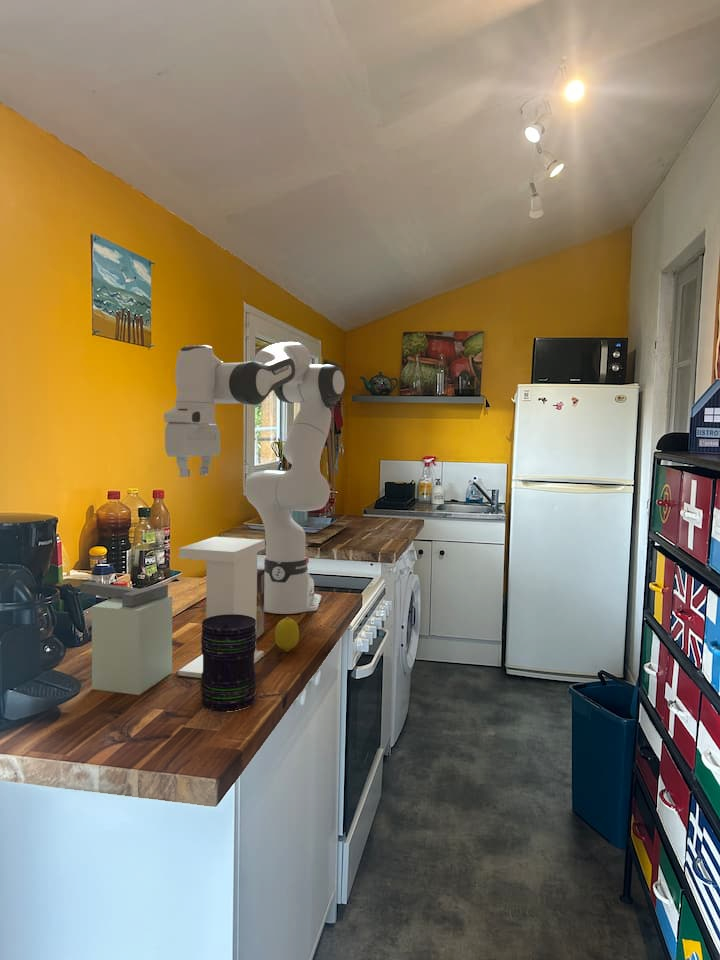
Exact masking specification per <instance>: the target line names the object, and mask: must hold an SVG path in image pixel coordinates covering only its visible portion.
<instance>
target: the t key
mask: <svg viewBox="0 0 720 960" xmlns="http://www.w3.org/2000/svg"><path fill="white" fill-rule="evenodd" d="M80 593H81V594H87V595H91V596H99V597H105V598H110V599H112V598H117V599H122V607H128V608H134V607H137V606H140V605H143V604H146V603H149V602H153V601H156V600H159V599H162V598H165V597H168V595H169V585H168V584H165V583H155V584H152V585H149V586H144V587H142V588H136V587H131V586H122V585H115V584H109V583H103V582H96V581H88V580H87V581H85V582H81V583H80Z"/></svg>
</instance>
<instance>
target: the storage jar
mask: <svg viewBox="0 0 720 960" xmlns="http://www.w3.org/2000/svg"><path fill="white" fill-rule="evenodd" d="M255 626H256V620H255V619H254V618H252V617H250V616H246V615H237V614H227V615H218V616H213V617H209V618H206V617H205V619H203V620H202V622H201V629H202V630H201V636H200V643H201V646H200V647H201V648H200V650H201V655H202V654H203V672H202V678H201V683H200V691H201V693H200V694H201V702H200V704H201V706H202V708H204V709H205V710H207V709H208V710H207V711H209V710H211V711H210V712H213V711H217V712H216V713H220V712H227V711H235V710H239V709H243V708H246V707H248V706H250V705H252V704H253V702H254V701H256V698H255V692H256V690H255V689H256V687H257V686H256V683H257V682H256V671H255V664H254V652H255V648H256V649H257V639H256V628H255ZM255 642H256V643H255ZM255 644H256V645H255ZM254 703H255V702H254ZM253 705H254V704H253ZM253 705H252V706H253ZM250 707H251V706H250Z"/></svg>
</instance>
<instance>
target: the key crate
mask: <svg viewBox="0 0 720 960" xmlns="http://www.w3.org/2000/svg"><path fill="white" fill-rule="evenodd" d="M172 673H173V595H169V594H168V597H165V598H162V599H159V600H156V601H153V602H149V603H146V604H143V605H140V606H137V607H134V608H128V607H122V599H117V598H110V599H106V600H103V601H102V602H99V603H97V604H94V605H92V606H91V690H97V691H103V692H112V693H120V694H128V695H133V696H134V695H136V696H140V695H142V694H143V693H144V692H146V691H147V690H149V689H151V688H152V687H153V686H155V685H157V683H159V682H160V681H162V680H164V679H165V678H166V677H168V676H169V675H171V674H172Z"/></svg>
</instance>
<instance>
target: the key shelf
mask: <svg viewBox="0 0 720 960" xmlns="http://www.w3.org/2000/svg"><path fill="white" fill-rule="evenodd" d="M264 550H266V539H259V538H257V539H256V538H243V537H241V538H240V537H229V536H228V537H227V536H226V537H224V536H212V537H210V538H206V539H203V540H199V541H198V542H194V543H190V544H187V545H184V546H182V547H179V548H178V559H185V560H187V559H188V560H197V561H198V560H199V561H206V569H205V570H206V575H205V576H206V577H205V578H206V579H205V580H206V581H205V582H206V583H205V585H206V587H205V590H206V591H205V592H206V594H205V595H206V596H205V597H206V598H205V600H206V601H205V605H206V606H205V619H206V618H209V617H213V616H218V615H227V614H237V615H246V616H250V617H252V618H254V619H255V620H256V613H257V569H258V553H259V552H261V551H264ZM255 628H256V626H255ZM255 643H256V644H255V645H256V646H257V641H256V642H255ZM264 656H265V653H264V650H257V647H256V648H255V652H254V665H255V664H256V663H257V662H259V660H260V659H261V657H262V658H263V657H264ZM202 672H203V654H202V653H201V654H200V655H199V656H198V657H196V658H195V659H194V660H191V661H190V662H189V663H187V664H186V665H185V666H183V667H182V668H180V669H179V670H178V672H177V673H178V676H180V677H181V676H182V677H190V678H199V679H202Z"/></svg>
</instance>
